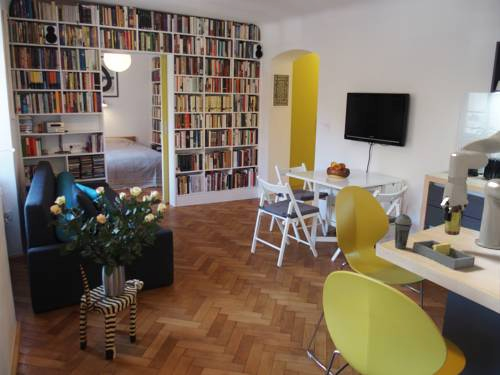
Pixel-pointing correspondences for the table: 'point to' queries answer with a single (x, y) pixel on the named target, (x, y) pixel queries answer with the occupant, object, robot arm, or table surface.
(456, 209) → the sauce bottle
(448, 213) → the robot arm
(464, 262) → the grey tray
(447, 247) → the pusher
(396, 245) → the beverage cup
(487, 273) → the table surface
